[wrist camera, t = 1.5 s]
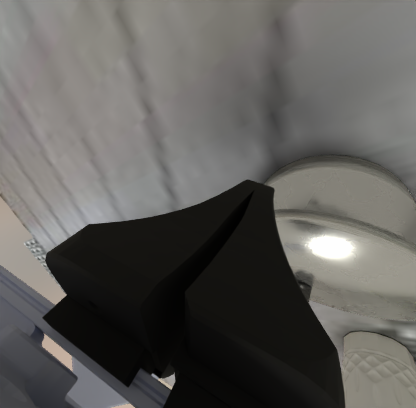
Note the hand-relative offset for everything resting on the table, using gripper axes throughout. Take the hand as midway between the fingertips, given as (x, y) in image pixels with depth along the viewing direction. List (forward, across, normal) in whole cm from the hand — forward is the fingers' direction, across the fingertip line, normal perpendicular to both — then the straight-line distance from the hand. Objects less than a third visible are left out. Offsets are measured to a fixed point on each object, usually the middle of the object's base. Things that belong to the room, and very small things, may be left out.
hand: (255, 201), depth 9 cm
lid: (+5, -5, +7) cm, 10 cm away
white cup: (+11, -18, +23) cm, 31 cm away
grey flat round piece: (+10, -5, +7) cm, 14 cm away
